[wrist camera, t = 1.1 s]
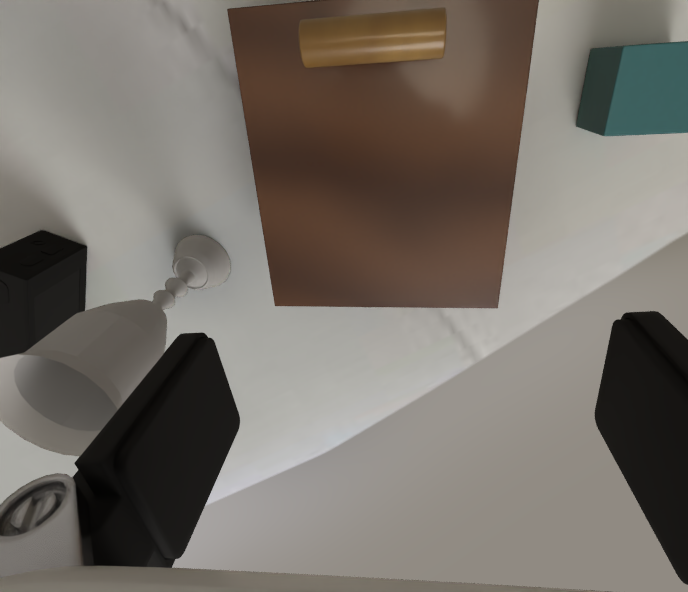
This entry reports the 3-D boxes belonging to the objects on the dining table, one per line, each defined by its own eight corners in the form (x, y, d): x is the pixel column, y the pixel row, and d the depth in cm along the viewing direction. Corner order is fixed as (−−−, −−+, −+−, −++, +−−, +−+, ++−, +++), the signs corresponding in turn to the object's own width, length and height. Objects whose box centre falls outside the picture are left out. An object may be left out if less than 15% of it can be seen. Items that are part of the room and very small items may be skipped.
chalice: (230, 220, 34) (85, 349, 19) (251, 292, 37) (143, 455, 22) (150, 229, 36) (-47, 358, 20) (177, 299, 39) (25, 456, 23)
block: (590, 48, 26) (623, 45, 22) (670, 42, 25) (719, 38, 21) (575, 126, 28) (603, 136, 24) (648, 123, 27) (689, 132, 23)
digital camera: (27, 222, 37) (-47, 253, 31) (87, 244, 37) (25, 280, 31) (31, 314, 42) (-32, 357, 36) (84, 333, 42) (30, 378, 36)
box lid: (231, 10, 22) (184, -6, 17) (537, -18, 20) (579, -45, 15) (277, 301, 30) (254, 345, 25) (495, 303, 28) (514, 351, 23)
